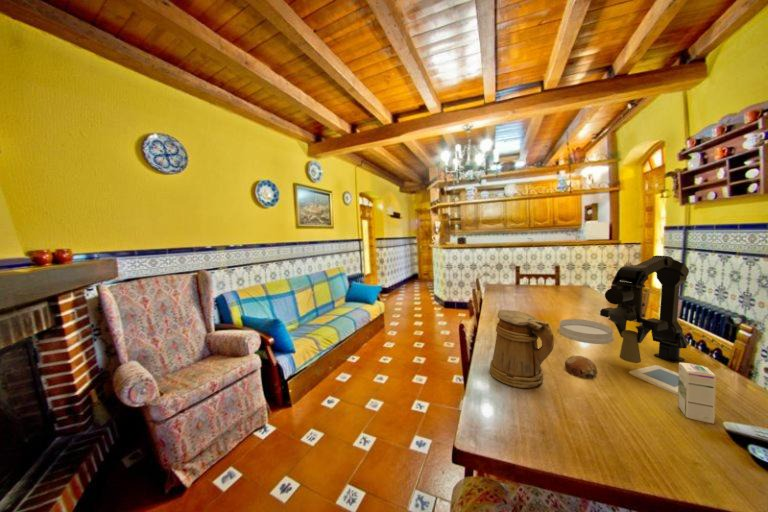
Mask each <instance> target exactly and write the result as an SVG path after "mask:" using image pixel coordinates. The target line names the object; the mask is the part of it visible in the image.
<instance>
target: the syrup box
mask: <svg viewBox="0 0 768 512" xmlns="http://www.w3.org/2000/svg"><path fill="white" fill-rule="evenodd" d="M678 373H679V380H678V395H677V407H678V409H679V410H680V411H681V413H682V414H683V415H684V417H685V418H687V419H692V420H694V421H699V422H703V423H709V424H712V425H713V424H715V415H716V389H717V387H716V386H717V385H716V384H717V382H716V380H717V376H716V373H713V372H712V370H710V368H708V367H707V366H706V365H702V364H695V363H689V362H681V361H678Z"/></svg>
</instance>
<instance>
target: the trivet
mask: <svg viewBox="0 0 768 512" xmlns="http://www.w3.org/2000/svg"><path fill="white" fill-rule="evenodd" d="M628 372H629V375H631V376H633V377H635V378H638V379H640V380H642V381H645V382H646V383H647V382H648V383H650V384H652V385H654V386H656V387H658V388H660V389H662V390H666V391H667V392H669V393H672V394H674V395H677V396H678V380H679V372H677V371H673V370H671V369H668V368H666V367H663V366H661V365H658V364H653V365H650V366H645V367H641V368H637V369H633V370H630V371H628Z"/></svg>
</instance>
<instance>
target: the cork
mask: <svg viewBox="0 0 768 512" xmlns="http://www.w3.org/2000/svg"><path fill="white" fill-rule="evenodd" d="M621 335H622V337H621V338H622V343H621V348H620V353H619V358H620V359H621V360H622V361H625V362H628V363H633V364H639V363H641V362H642V358H641V352H640V351H641V350H640V346H639V345H640V343H638V341H637V335H638V331H635V330H630V329H626V330H624V331H622V333H621Z"/></svg>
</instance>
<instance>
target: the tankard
mask: <svg viewBox="0 0 768 512" xmlns="http://www.w3.org/2000/svg"><path fill="white" fill-rule="evenodd" d="M497 318H498V322H497V323H496V327H495V332H496V337H495V343H494V349H493V354H492V355H493V356H492V359H491V361H490V364H489V372H490V374H491V376H492V377H493V378H494V379H496V380H497V381H499V382H500V383H503V384H505V385H508V386H511V387H515V388H522V389H531V388H535V387H536V386H539V385H541V384H542V383H543V381H544V369H543V367H542V366H541V365H542V363H543V362H544V361H545V360H547V358H548V357H549V356H550V355H551V353H552V352H553V349H554V347H555V338H554V333H553V331H552V328H551V327H550V324H549V322H547V321H543V320H540V319H537V318H536V317H535V316H534V315H531V314H529V313H527V312H524V311H520V310H511V309H510V310H509V309H507V310H505V309H500V310H499V311H498V312H497ZM539 339H540V340H541V346H540V347H539V346H538V340H539Z"/></svg>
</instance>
